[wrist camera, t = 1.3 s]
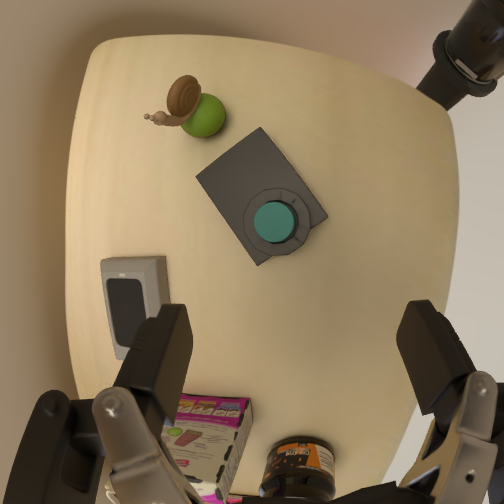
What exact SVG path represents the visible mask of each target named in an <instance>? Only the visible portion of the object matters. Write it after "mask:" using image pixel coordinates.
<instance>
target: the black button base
mask: <svg viewBox="0 0 504 504" xmlns="http://www.w3.org/2000/svg"><path fill="white" fill-rule="evenodd" d="M196 178H197V180H198V181H199V183H200V184H201V185H202V187H203V188H204V190H205V191H206V193H207V194H208V196H209V197H210V199H211V200H212V201H213V203H214V204H215V206H216V207H217V209H218V210H219V212H220V213H221V214H222V216H223V217H224V219H225V220H226V222H227V223H228V225H229V226H230V227H231V229H232V230H233V232H234V233H235V235H236V236H237V238H238V239H239V240H240V242H241V243H242V245H243V246H244V248H245V249H246V251H247V252H248V253H249V255H250V256H251V258H252V259H253V261H254V262H255V264H256V265H257V266H259V265H260V264H261V263H263V262H264V261H266V260H267V259H269V258H270V257H272V256H279V255H288V254H290V253H292V252H293V251H295V250H296V249H298V248H299V247H301V246H302V245H303V244H304V242H305V240H306V238H307V236H308V234H309V231H310V230H311V229H312V228H313V227H315V226H316V225H318V224H319V223H321V222H322V221H323V220H325V219H326V218H328V215H327V214H326V212H325V211H324V210H323V208H322V207H321V205H320V204H319V203H318V201H317V200H316V198H315V197H314V196H313V194H312V193H311V191H310V190H309V189H308V187H307V186H306V185H305V183H304V182H303V180H302V179H301V178H300V176H299V175H298V174H297V172H296V171H295V170H294V168H293V167H292V166H291V165H290V163H289V162H288V161H287V159H286V158H285V157H284V155H283V154H282V153H281V152H280V150H279V149H278V148H277V147H276V145H275V144H274V143H273V142H272V140H271V139H270V138H269V137H268V135H267V134H266V133H265V132H264V130H263V129H262V128H261V127H259V128H258V129H256V130H255V131H254V132H252V133H251V134H249V135H248V136H247V137H245V138H244V139H243V140H241V141H240V142H239V143H237V144H236V145H235V146H233V147H232V148H231V149H229V150H228V151H227V152H225V153H224V154H223V155H222V156H220V157H219V158H218V159H216V160H215V161H214V162H213V163H211V164H210V165H209V166H208V167H206V168H205V169H204V170H203V171H201V172H200V173H199V174H198V175H197V176H196ZM269 202H279V203H282V204H284V205H285V206H287V207H288V208H289V209H290V210H291V211H292V212H293V214H294V217H295V228H294V230H293V232H292V233H291V234H290V236H288V237H287V238H286V239H284V240H282V241H279V242H269V241H266V240H264V239H262V238H261V237H260V236H259V235H258V234H257V232H256V230H255V227H254V217H255V214H256V212H257V210H258V209H259V208H260V207H261V206H262V205H264V204H266V203H269Z"/></svg>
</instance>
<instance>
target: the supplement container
mask: <svg viewBox="0 0 504 504" xmlns="http://www.w3.org/2000/svg"><path fill="white" fill-rule="evenodd" d="M334 463H335V456H334V453H333V451H332V449H331V448H330V447H329V446H328V445H327V444H325V443H323V442H321V441H319V440H316V439H311V438H293V439H289V440H285V441H283V442H281V443H279V444H277V445H276V446H274V447H273V448H272V450H271V451H270V452H269V454H268V458H267V464H266V468H265V471H264V475H263V479H262V483H261V484H260V487H259V496H260V497H285V498H290V499H297V500H303V501H310V502H318V503H324V502H328V501H331V500H332V499H333V498H334V496H335V491H336V489H335V470H334Z"/></svg>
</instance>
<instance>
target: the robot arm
mask: <svg viewBox="0 0 504 504" xmlns="http://www.w3.org/2000/svg"><path fill="white" fill-rule="evenodd" d="M444 51H445V54H446V56H447V58H448V60H449V61H450V63H451V64H452V66H453V67H454V68H455V69H456V70H457V71H458V72H459V73H460V74H461V75H462V76H463V77H464V78H466V79H467V80H469V81H470V82H472V83H474V84H477V85H487V84H489V83H490V82H491V81H492V82H495V81H497V80H498V79H499V78H500V77H502V76H503V75H504V0H472V1H471V3H470V4H469V6H468V7H467V9H466V11H465V12H464V13H463V15H462V17H461V18H460V20H459V21H458V23H457V24H456V26H455V27H454V28H453V30H452V31H451V33H450V34H449V35H448V36H447V37H446V39H445V41H444ZM396 341H397V346H398V349H399V351H400V354H401V356H402V359H403V362H404V364H405V367H406V369H407V372H408V375H409V378H410V380H411V383H412V386H413V389H414V392H415V395H416V397H417V400H418V403H419V406H420V409H421V413H422V415H427V414H430V413H434V416H435V418H434V419H433V420H432V422H431V425H430V427H429V430H428V433H427V435H426V438H425V440H424V443H423V445H422V448H421V450H420V452H419V454H418V457H417V459H416V461H415V463H414V465H413V466H412V467H411V469H410V470H409V471H408V472H407V473H406V475H405V476H404V478H403V479H402V481H401V483H400V484H399V486H398V487H397V486H396V481H393V482H389V483H384V484H380V485H376V486H371V487H366V488H361V489H359V490H357V491H354V492H352V493H349V494H347V495H344V496H342V497H339V498H336V499H334V500H331V501H328V502H324V503H318V502H310V501H303V500H297V499H290V498H285V497H242V501H241V502H235V503H231V504H482V502H483V500H484V497H485V494H486V491H487V490H488V496H489V503H490V504H504V383H496V382H495V380H494V379H493V378H492V376H491V375H489V374H488V373H486V372H483V371H477V370H476V368H475V366H474V364H473V362H472V360H471V358H470V357H469V355H468V353H467V351H466V349H465V348H464V346H463V344H462V342H461V341H459V337H458V335H457V333H456V332H455V330H454V328H453V327H452V325H451V323H450V322H449V320H448V319H447V318H446V317H444V316H443V315H442V314H441V313H440V312H437V311H436V309H435V308H434V306H433V305H432V303H431V302H430V301H429V300H415V301H410V302H409V303H408V304H407V307H406V310H405V312H404V315H403V318H402V320H401V323H400V325H399V328H398V330H397V336H396ZM192 349H193V334H192V330H191V326H190V322H189V317H188V313H187V309H186V306H185V305H184V304H171V303H163V304H162V306H161V308H160V310H159V312H158V315H157V317H149V318H148V319H147V320H146V321H144V322H143V323H142V324H141V325H140V326H139V328H138V331H137V333H136V335H135V337H134V340H133V341H132V344H131V346H130V349H129V350H128V352H127V355H126V357H125V359H124V362H123V364H122V366H121V368H120V371H119V373H118V375H117V378H116V380H115V382H114V384H113V386H112V387H109V388H106V389H104V390H103V391H101V392H100V393H99V394H98V395H97V396H96V397H95V398H94V399H82V400H70V399H69V398H68V397H67V396H66V395H65V394H64V393H63V392H61V391H59V390H50V391H47V392H45V393H44V394H42V395H41V396H40V398H39V399H38V401H37V403H36V405H35V407H34V409H33V412H32V414H31V417H30V419H29V421H28V424H27V427H26V429H25V432H24V434H23V437H22V440H21V442H20V445H19V448H18V451H17V454H16V457H15V460H14V463H13V466H12V470H11V473H10V476H9V480H8V484H7V488H6V492H5V496H4V500H3V504H95V500H96V495H97V490H98V485H99V481H100V476H101V472H102V467H103V463H104V458H105V456H107V457H108V459H109V462H110V464H111V467H112V473H110V482H111V485H112V487H113V490H114V492H115V494H116V496H117V498H118V500H119V502H120V504H205V503H204V501H203V500H202V499H201V497H200V496H199V494H198V493H197V492H196V490H195V489H194V488H193V486H192V485H191V484H190V483H189V481H188V480H187V479H186V477H185V476H184V474H183V472H182V471H181V469H180V468H179V466H178V464H177V463H176V461H175V459H174V458H173V456H172V454H171V452H170V451H169V449H168V447H167V445H166V444H165V442H164V440H163V438H162V436H161V434H162V430H163V426H164V425H165V426H171V427H174V424H175V420H176V415H177V411H178V407H179V402H180V398H181V394H182V390H183V386H184V382H185V378H186V374H187V370H188V366H189V362H190V358H191V354H192Z"/></svg>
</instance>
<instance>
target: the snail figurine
mask: <svg viewBox="0 0 504 504" xmlns="http://www.w3.org/2000/svg"><path fill="white" fill-rule="evenodd" d="M167 108H168V111H169V112H170V114H171V115H166V113H165V112H163V111H158V112H156V113H155V114H154V115H151V116H150V115H149V114H145V115H144V118H145V119H150V120H151V121H153V122H154V124H156V125H165V126H180V125H181V127H182V128H183V130H184V131H185V132H186V133H188V134H189V135H192V136H194V137H207V136H210V135H212V134H214V133H216V132H217V131H218V130H219V129H220V128H221V126H222V125H223V122H224V119H225V110H224V106H223V104H222V103H221V101H220V100H219V99H218V98H216V97H215V96H213V95H210V94H206V93H201V86H200V85H199V84H198V81H197V79H196V78H195V77H193V76H190V75H185V76H182V77H180V78H178V79H177V80H176V81H175V82H174V83H173V85H172V86H171V88H170V90H169V93H168V96H167Z"/></svg>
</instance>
